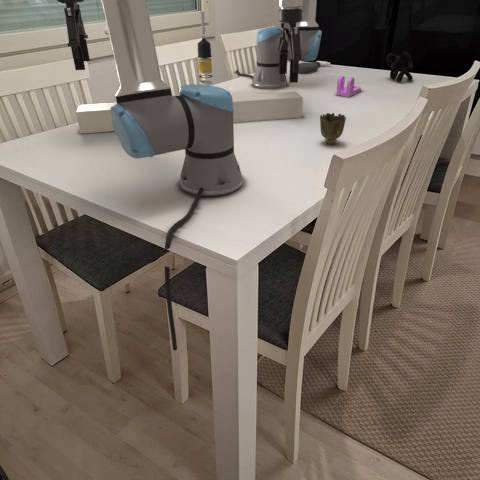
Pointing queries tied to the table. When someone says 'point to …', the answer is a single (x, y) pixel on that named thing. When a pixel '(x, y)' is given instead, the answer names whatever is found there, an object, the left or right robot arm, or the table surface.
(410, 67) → the squiggle
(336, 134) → the cup
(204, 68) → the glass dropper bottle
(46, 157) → the table surface
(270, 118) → the slab
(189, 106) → the left robot arm
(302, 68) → the frying pan
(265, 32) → the right robot arm
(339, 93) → the bracket
